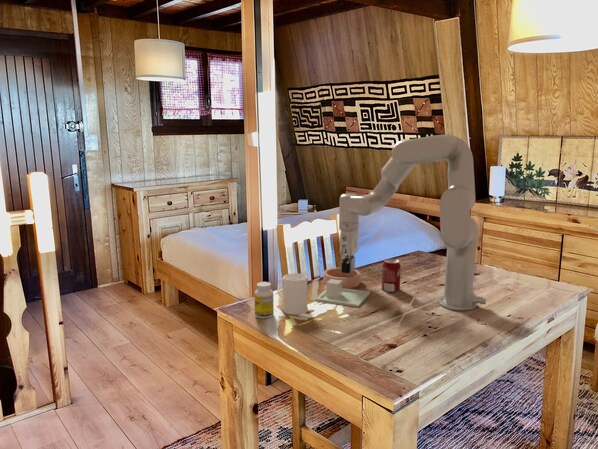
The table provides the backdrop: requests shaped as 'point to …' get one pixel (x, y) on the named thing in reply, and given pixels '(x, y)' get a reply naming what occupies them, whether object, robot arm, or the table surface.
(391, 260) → the soda can
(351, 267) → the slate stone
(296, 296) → the mug
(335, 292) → the beige block
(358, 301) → the parts tray
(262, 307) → the pill bottle
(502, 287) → the table surface
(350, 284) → the bowl
